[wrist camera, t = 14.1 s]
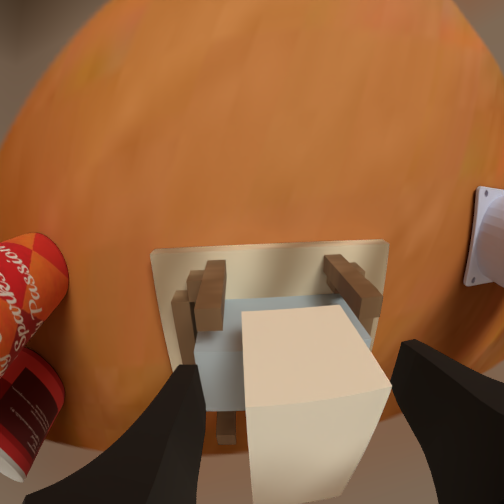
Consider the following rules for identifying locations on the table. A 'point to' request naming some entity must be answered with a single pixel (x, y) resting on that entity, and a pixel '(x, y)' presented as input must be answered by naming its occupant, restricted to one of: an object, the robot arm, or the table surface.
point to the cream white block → (307, 402)
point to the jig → (260, 288)
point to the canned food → (26, 411)
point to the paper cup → (28, 290)
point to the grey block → (231, 346)
